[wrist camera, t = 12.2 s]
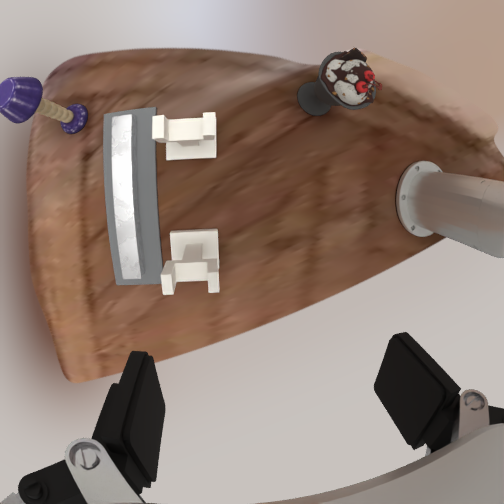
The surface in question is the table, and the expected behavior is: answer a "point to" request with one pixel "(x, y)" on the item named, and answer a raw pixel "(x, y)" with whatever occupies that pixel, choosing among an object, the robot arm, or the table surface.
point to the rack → (189, 241)
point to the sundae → (340, 84)
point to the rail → (127, 196)
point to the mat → (145, 197)
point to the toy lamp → (37, 104)
